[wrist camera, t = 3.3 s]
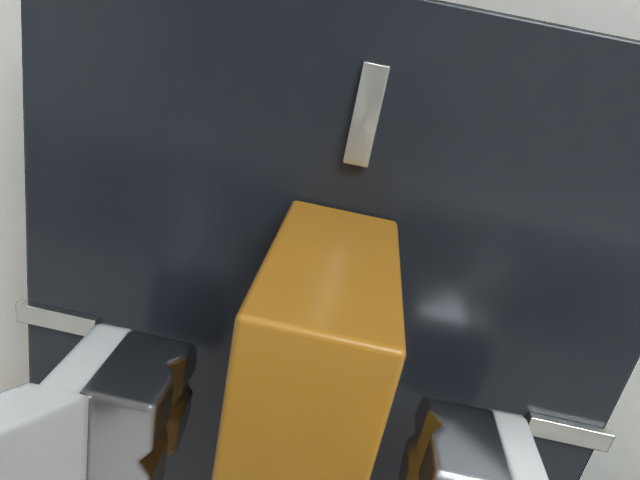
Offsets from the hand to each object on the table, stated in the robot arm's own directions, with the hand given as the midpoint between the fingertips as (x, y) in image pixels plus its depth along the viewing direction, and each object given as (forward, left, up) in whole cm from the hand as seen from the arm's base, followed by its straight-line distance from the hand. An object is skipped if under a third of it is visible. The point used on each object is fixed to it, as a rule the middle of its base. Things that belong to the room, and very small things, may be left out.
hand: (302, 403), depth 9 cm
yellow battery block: (0, 0, -1) cm, 1 cm away
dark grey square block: (0, 0, -4) cm, 4 cm away
